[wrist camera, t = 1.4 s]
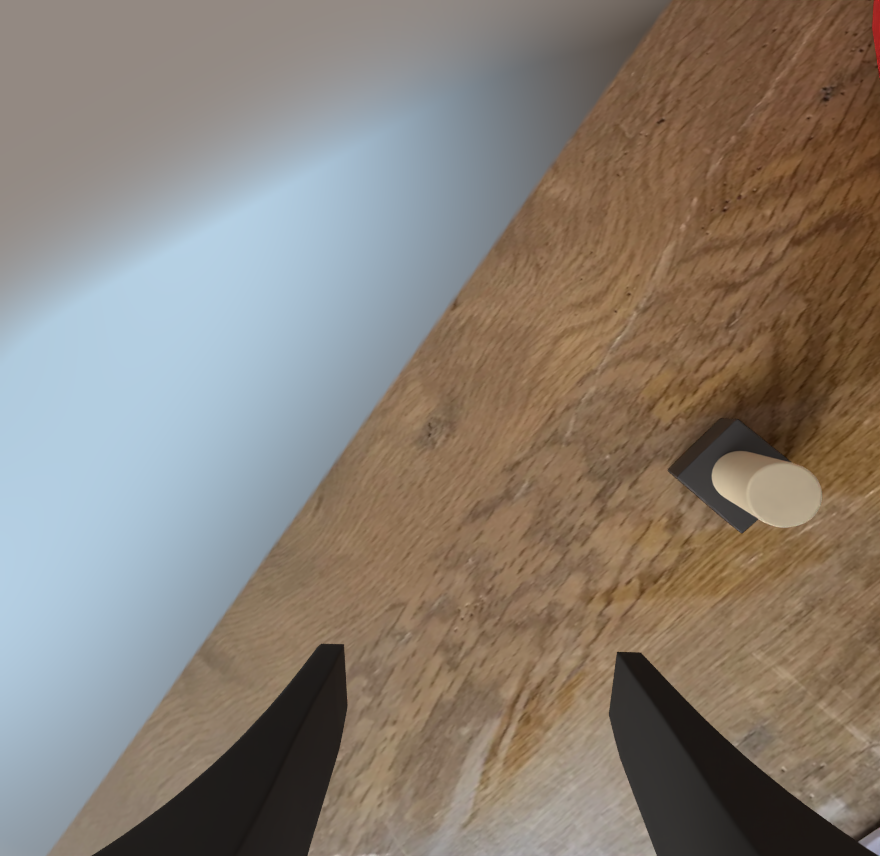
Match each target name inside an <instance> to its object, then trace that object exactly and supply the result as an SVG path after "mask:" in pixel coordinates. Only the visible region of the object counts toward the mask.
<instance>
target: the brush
mask: <svg viewBox="0 0 880 856" xmlns="http://www.w3.org/2000/svg"><path fill="white" fill-rule="evenodd" d="M668 472H669V473H671V474H672V475H673V476H674V477H675V478H676V479H678V480H679V481H680V482H681V483H682V484H683V485H685V486H686V487H687V488H688V489H689V490H690V491H691V492H693V493H694V494H695V495H696V496H697V497H698V498H700V499H701V500H702V501H703V502H704V503H705V504H707V505H708V506H709V507H710V508H711V509H712V510H714V511H715V512H716V513H717V514H718V515H719V516H720V517H722V518H723V519H724V520H725V521H726V522H728V523H729V524H730V525H731V526H733V527H734V528H735V529H737V530H738V531H739V532H740V533H743V532H744V531H746V530H747V529H748V528H749V527H750V526H751V525H752V524H753V523H755V522H756V521H757V520H758V519H759V520H761V521H763V522H764V523H766V524H769V525H772V526H775V527H783V528H787V527H795V526H798V525H801V524H803V523H805V522H807V521H808V520H810V519H811V518H812V517H813V516H814V515H815V514H816V513H817V511H818V510H819V508H820V505H821V502H822V490H821V486H820V484H819V481H818V480H817V478H816V477H815V476H814V475H813V474H812V473H811V472H810V471H809V470H808V469H806V468H804V467H803V466H800V465H798V464H795V463H792V462H791V461H789V460H788V459H787V458H786V457H784V456H783V455H782V454H781V453H779V452H778V451H777V450H776V449H775V448H773V447H772V446H771V445H770V444H768V443H767V442H766V441H765V440H763V439H762V438H761V437H760V436H758V435H757V434H756V433H755V432H754V431H752V430H751V429H750V428H749V427H747V426H746V425H745V424H744V423H742V422H741V421H740V420H739V419H728V418H721V419H719V420H718V421H717V422H716V423H715V424H714V425H713V426H712V427H711V428H710V429H709V430H708V431H707V432H706V433H705V434H704V435H703V436H702V437H701V438H700V439H699V440H698V441H697V442H696V443H695V444H694V445H692V446H691V447H690V448H689V449H688V450H687V451H686V452H685V453H684V454H683V455H682V456H681V457H680V458H679V459H678V460H677V461H676V462H675V463H674V464H673V465H672V466H671V467H670V468H669V469H668Z"/></svg>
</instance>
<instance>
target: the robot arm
mask: <svg viewBox="0 0 880 856" xmlns="http://www.w3.org/2000/svg"><path fill="white" fill-rule="evenodd" d="M346 712H347V689H346V672H345V654H344V644H321V645H319V646H318V647H317V648H316V650H315V651H314V652H313V654H312V655H311V656H310V658H309V659H308V660H307V662H306V663H305V664H304V666H303V667H302V668H301V669H300V671H299V672H298V673H297V674H296V676H295V677H294V678H293V679H292V681H291V682H290V683H289V684H288V686H287V687H286V688H285V689H284V690H283V691H282V693H281V694H280V695H279V696H278V697H277V699H276V700H275V701H274V702H273V703H272V704H271V706H270V707H269V708H268V709H267V710H266V711H265V712H264V713H263V714H262V715H261V717H260V718H259V719H258V720H257V721H256V722H255V723H254V724H253V725H252V726H251V727H250V728H249V729H248V730H247V732H246V733H245V734H244V735H243V736H242V737H241V738H240V739H239V740H238V741H237V742H236V743H235V744H234V745H233V746H232V747H231V748H230V749H229V750H228V751H227V752H226V753H224V754H223V755H222V756H221V757H220V758H219V759H218V760H217V761H216V762H215V763H214V764H213V765H212V766H210V767H209V768H208V769H207V770H206V771H205V772H204V773H202V774H201V775H200V776H199V777H198V778H197V779H195V780H194V781H193V782H192V783H191V784H190V785H188V786H187V787H186V788H185V789H184V790H183V791H181V792H180V793H179V794H178V795H176V796H175V797H174V798H173V799H171V800H170V801H169V802H168V803H166V804H165V805H164V806H163V807H161V808H160V809H158V810H157V811H156V812H154V813H153V814H152V815H150V816H149V817H148V818H146V819H145V820H144V821H142V822H141V823H140V824H138V825H137V826H135V827H134V828H133V829H131V830H130V831H128V832H127V833H125V834H124V835H123V836H121V837H120V838H118V839H117V840H115V841H114V842H112V843H111V844H109V845H108V846H106V847H105V848H103V849H102V850H100V851H98V852H97V853H95V854H94V855H92V856H307V855H308V852H309V848H310V844H311V841H312V838H313V834H314V831H315V828H316V824H317V821H318V818H319V815H320V811H321V808H322V805H323V801H324V798H325V795H326V792H327V788H328V785H329V782H330V778H331V775H332V772H333V768H334V765H335V762H336V758H337V755H338V751H339V748H340V743H341V738H342V733H343V728H344V722H345V717H346ZM609 717H610V721H611V725H612V729H613V733H614V737H615V741H616V744H617V748H618V752H619V756H620V759H621V762H622V764H623V767H624V770H625V772H626V775H627V778H628V780H629V783H630V786H631V788H632V791H633V794H634V796H635V799H636V802H637V804H638V807H639V810H640V812H641V815H642V817H643V820H644V823H645V825H646V828H647V831H648V833H649V836H650V838H651V841H652V844H653V846H654V849H655V852H656V854H657V856H880V827H879V828H878V829H876V830H875V831H873V832H872V833H870V834H869V835H867V836H866V837H864V838H863V839H861V840H860V841H858V842H857V841H856V840H854V839H853V838H851V837H850V836H848V835H847V834H845V833H844V832H842V831H841V830H839V829H838V828H837V827H835V826H834V825H832V824H831V823H830V822H828V821H827V820H826V819H824V818H823V817H821V816H820V815H819V814H817V813H816V812H814V811H813V810H812V809H810V808H809V807H808V806H806V805H805V804H803V803H802V802H801V801H800V800H798V799H797V798H796V797H794V796H793V795H792V794H790V793H789V792H788V791H787V790H785V789H784V788H783V787H782V786H780V785H779V784H778V783H777V782H775V781H774V780H773V779H772V778H770V777H769V776H768V775H767V774H766V773H764V772H763V771H762V770H761V769H759V768H758V767H757V766H756V765H755V764H753V763H752V762H751V761H750V760H749V759H748V758H746V757H745V756H744V755H743V754H742V753H741V752H740V751H739V750H738V749H736V748H735V747H734V746H733V745H732V744H731V743H730V742H729V741H728V740H727V739H725V738H724V737H723V736H722V735H721V734H720V733H719V732H718V731H717V730H716V729H715V728H714V727H713V726H712V725H710V724H709V723H708V722H707V721H706V720H705V719H704V718H703V717H702V716H701V715H700V714H699V713H698V712H697V711H696V710H695V709H694V708H693V707H692V706H691V705H690V704H689V703H688V702H687V701H686V700H685V699H684V698H683V697H682V696H681V695H680V694H679V692H678V691H677V690H676V689H675V688H674V687H673V686H672V685H671V684H670V683H669V682H668V681H667V680H666V679H665V678H664V677H663V676H662V675H661V674H660V672H659V671H658V670H657V669H656V668H655V667H654V666H653V665H652V664H651V663H650V662H649V661H648V660H647V659H646V658H645V657H644V656H643V655H642V654H641V653H636V652H617V656H616V664H615V672H614V679H613V687H612V695H611V702H610V710H609Z"/></svg>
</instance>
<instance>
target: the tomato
mask: <svg viewBox="0 0 880 856" xmlns="http://www.w3.org/2000/svg"><path fill="white" fill-rule="evenodd" d="M872 30H873V37H874V43H875V50H876V57H877V64H878V71H879V78H880V0H874V5H873V25H872Z"/></svg>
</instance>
